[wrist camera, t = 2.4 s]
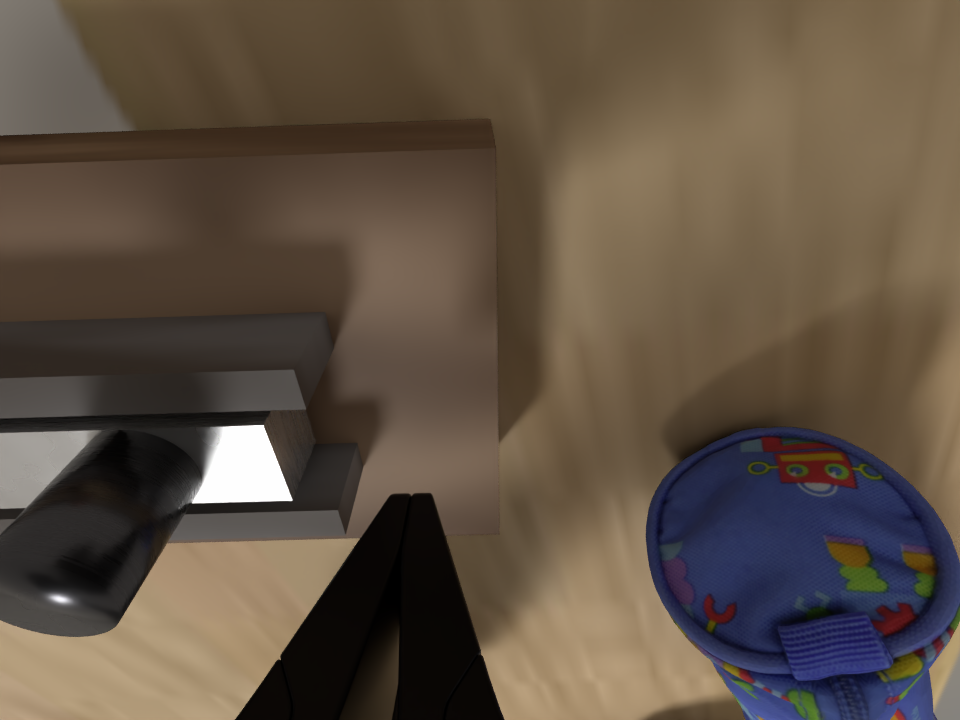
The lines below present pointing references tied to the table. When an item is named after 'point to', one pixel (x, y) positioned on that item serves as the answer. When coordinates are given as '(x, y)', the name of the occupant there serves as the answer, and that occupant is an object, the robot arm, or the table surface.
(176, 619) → the table surface
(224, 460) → the lock bolt
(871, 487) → the pencil case
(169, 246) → the door board
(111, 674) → the table surface
